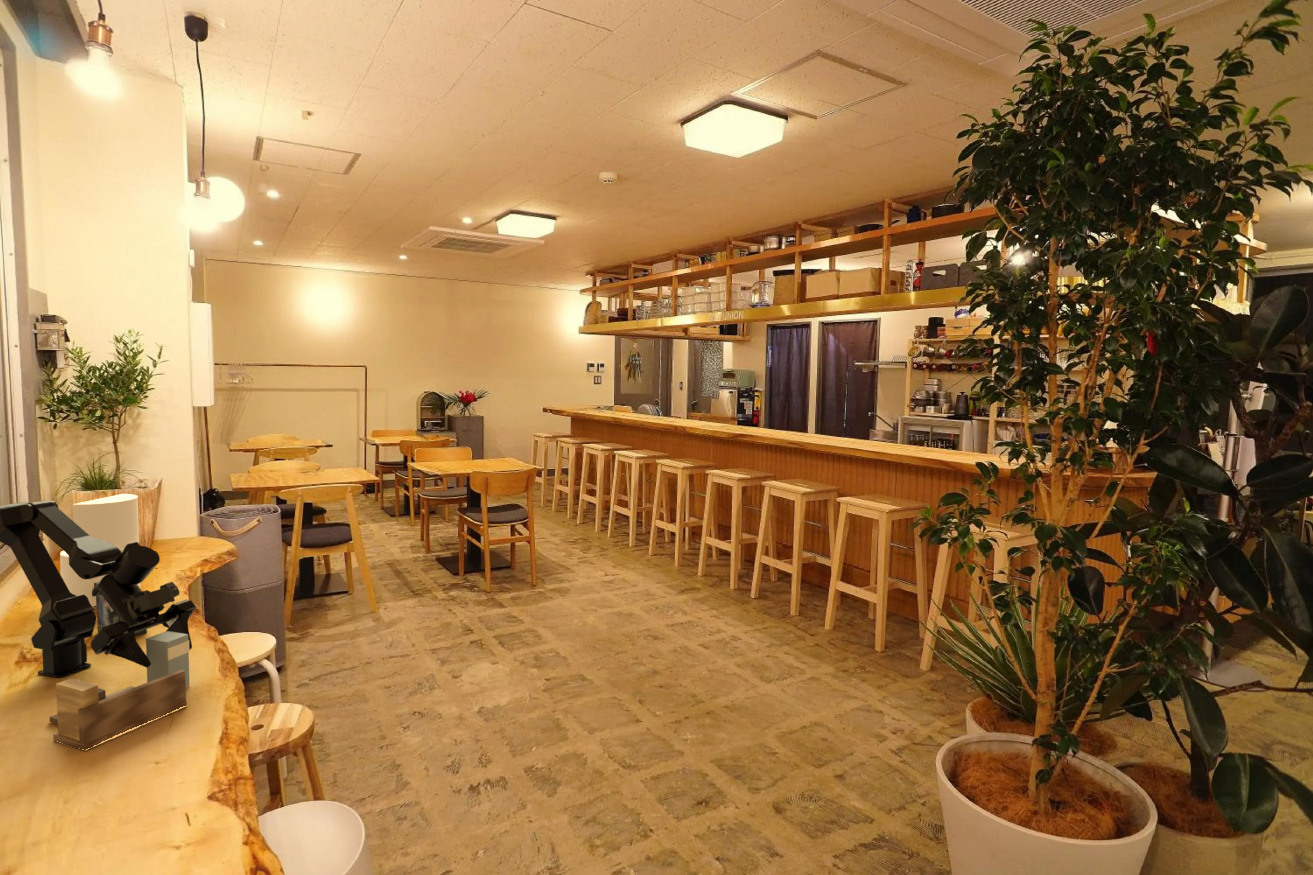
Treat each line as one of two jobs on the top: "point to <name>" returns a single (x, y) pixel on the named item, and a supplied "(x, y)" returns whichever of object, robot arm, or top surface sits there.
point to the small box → (107, 615)
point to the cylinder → (102, 533)
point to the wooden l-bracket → (112, 708)
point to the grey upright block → (167, 655)
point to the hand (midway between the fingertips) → (170, 657)
